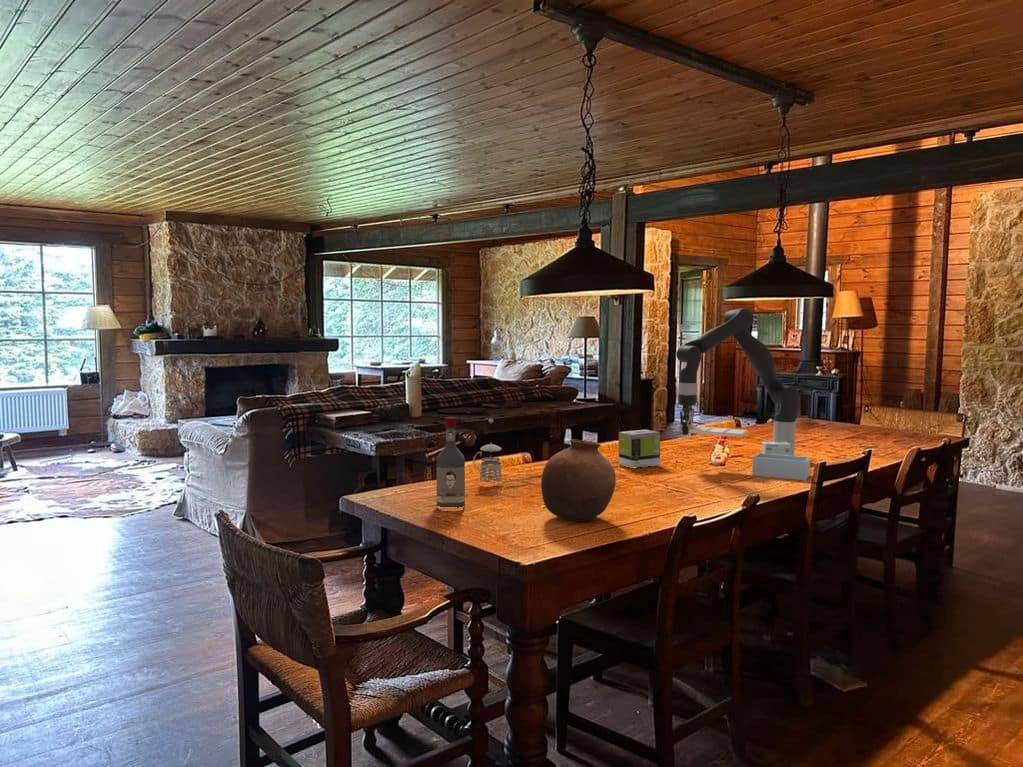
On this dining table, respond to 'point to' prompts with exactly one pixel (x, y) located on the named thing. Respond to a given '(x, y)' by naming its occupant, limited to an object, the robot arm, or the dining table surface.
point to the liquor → (450, 471)
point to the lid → (714, 431)
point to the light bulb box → (776, 448)
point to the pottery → (578, 482)
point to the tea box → (639, 448)
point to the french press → (487, 461)
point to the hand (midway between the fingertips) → (686, 433)
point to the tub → (781, 466)
